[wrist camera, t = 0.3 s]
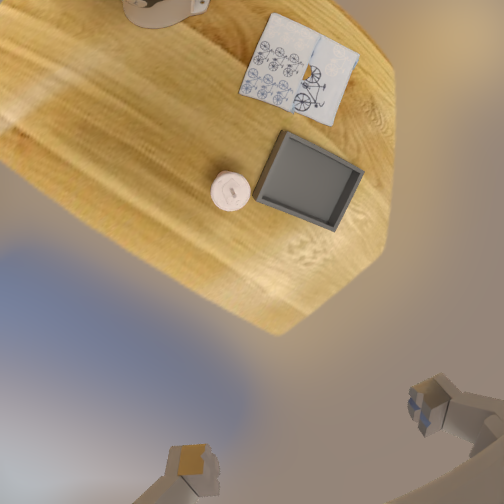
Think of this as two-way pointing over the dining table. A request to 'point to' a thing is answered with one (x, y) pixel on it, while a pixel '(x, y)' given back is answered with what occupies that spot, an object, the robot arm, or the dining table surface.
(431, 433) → the robot arm
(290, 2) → the dining table surface
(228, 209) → the smoothie
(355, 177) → the tray
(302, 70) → the folded bicycle print cloth
